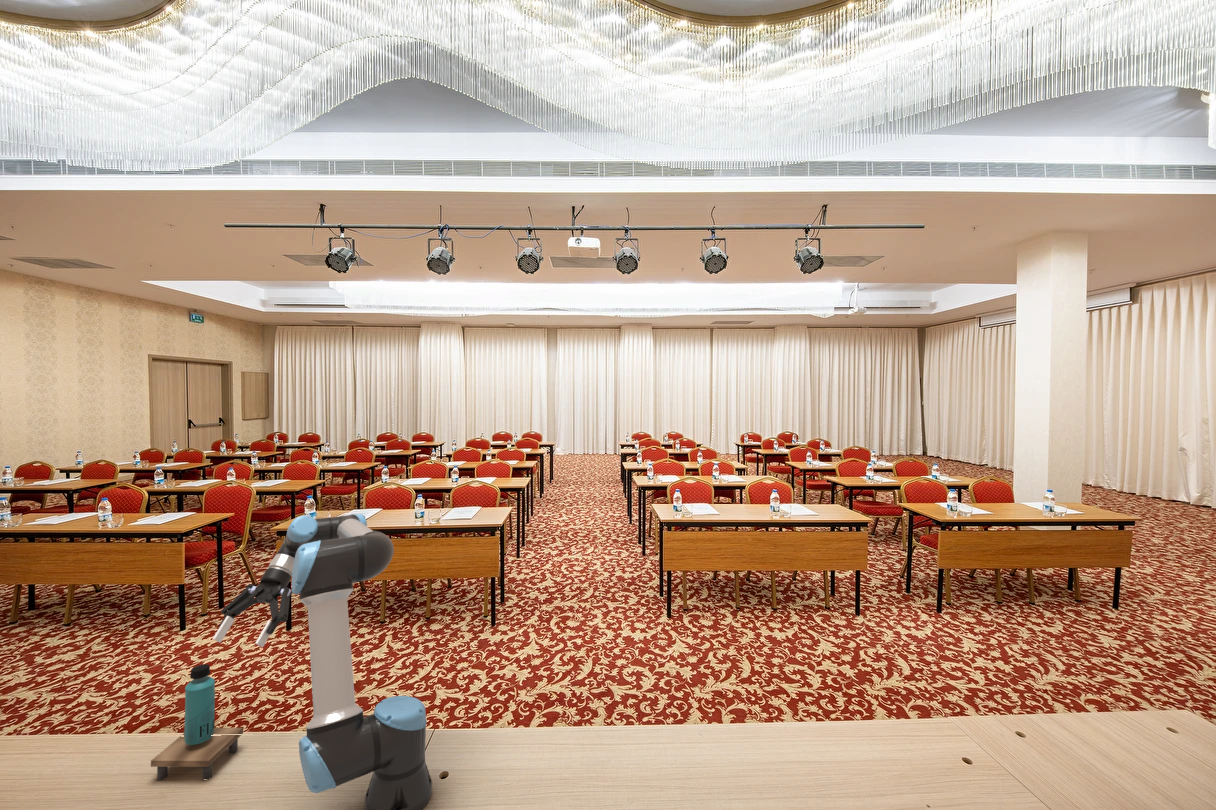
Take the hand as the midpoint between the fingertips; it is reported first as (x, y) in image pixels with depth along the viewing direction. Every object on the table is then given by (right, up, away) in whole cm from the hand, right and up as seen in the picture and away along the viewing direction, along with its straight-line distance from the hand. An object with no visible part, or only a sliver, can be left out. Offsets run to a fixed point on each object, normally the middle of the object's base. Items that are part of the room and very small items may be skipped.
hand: (237, 643), depth 147 cm
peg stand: (-3, -27, -10) cm, 29 cm away
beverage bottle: (-3, -22, -10) cm, 24 cm away
